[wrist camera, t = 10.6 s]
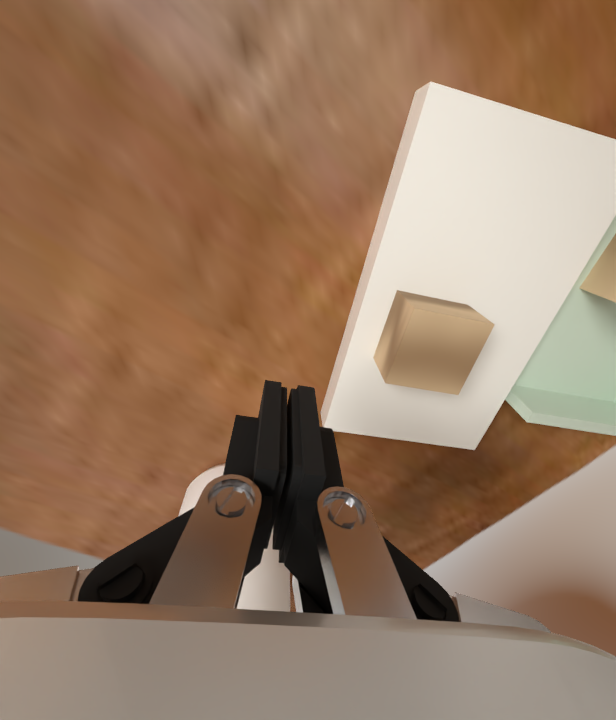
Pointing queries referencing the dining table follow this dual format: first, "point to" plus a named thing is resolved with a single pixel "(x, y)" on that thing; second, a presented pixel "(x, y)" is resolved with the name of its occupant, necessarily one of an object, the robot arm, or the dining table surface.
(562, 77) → the dining table surface
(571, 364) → the tray
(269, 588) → the alcohol
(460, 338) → the tan block
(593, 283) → the tan faceted block
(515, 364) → the board
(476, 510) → the dining table surface
